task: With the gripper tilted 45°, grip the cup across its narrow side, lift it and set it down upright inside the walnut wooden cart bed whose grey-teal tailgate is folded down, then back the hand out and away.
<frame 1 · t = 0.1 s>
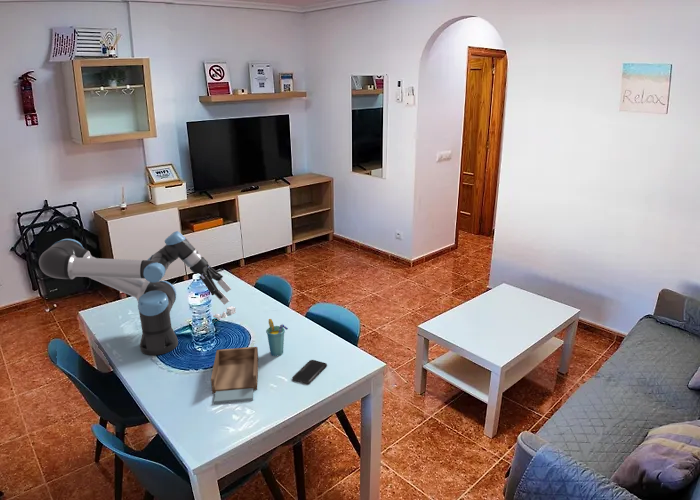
hand: (228, 296, 228), 15 cm above the table, tool tilted 35°, fingers open, 13 cm apart
phone: (309, 373, 198), on the table
tailgate: (234, 395, 182), point 1 cm above the table, hinge at 90.0°
cart bed: (236, 375, 196), on the table
cup: (278, 354, 211), on the table
game pieces: (224, 317, 244), on the table
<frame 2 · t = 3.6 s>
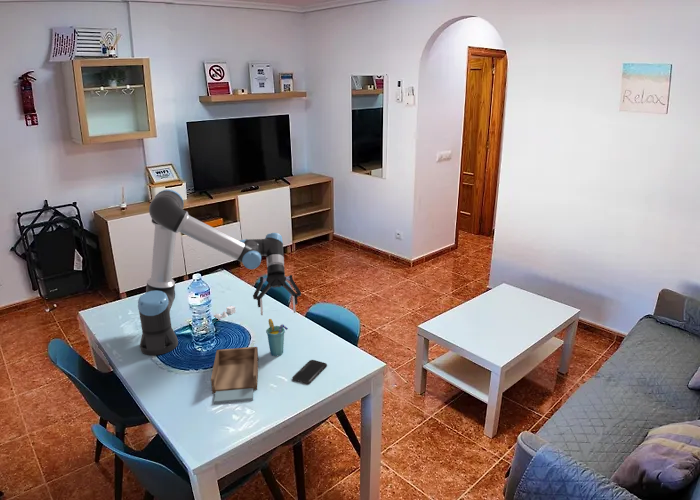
hand: (278, 313, 213), 15 cm above the table, tool tilted 45°, fingers open, 13 cm apart
nothing on the table moved.
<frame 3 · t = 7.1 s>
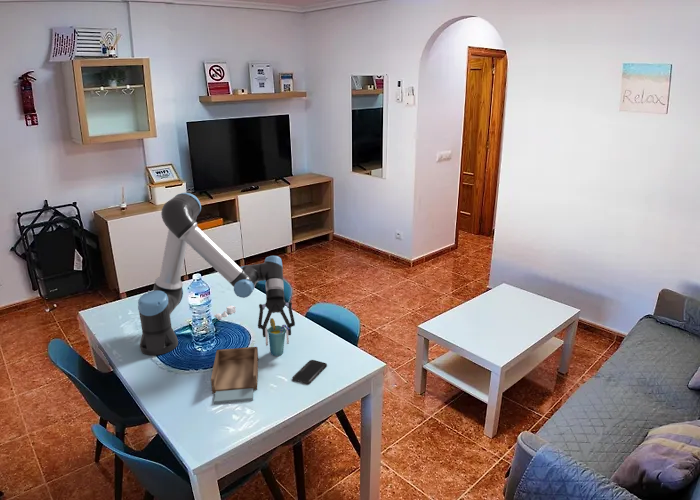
hand: (277, 343, 205), 7 cm above the table, tool tilted 45°, fingers closed on cup, 8 cm apart
cup: (278, 353, 211), on the table, touching gripper
everything else where it was.
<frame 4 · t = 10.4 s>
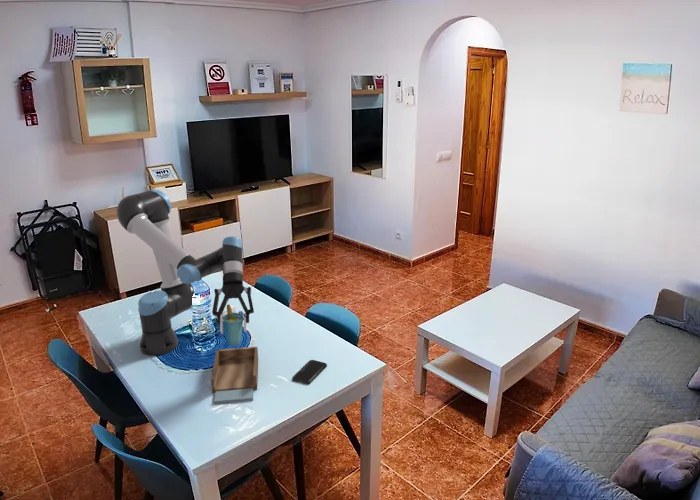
hand: (233, 332, 186), 20 cm above the table, tool tilted 45°, fingers closed on cup, 8 cm apart
cup: (235, 343, 192), point 14 cm above the table, touching gripper
everything else where it was.
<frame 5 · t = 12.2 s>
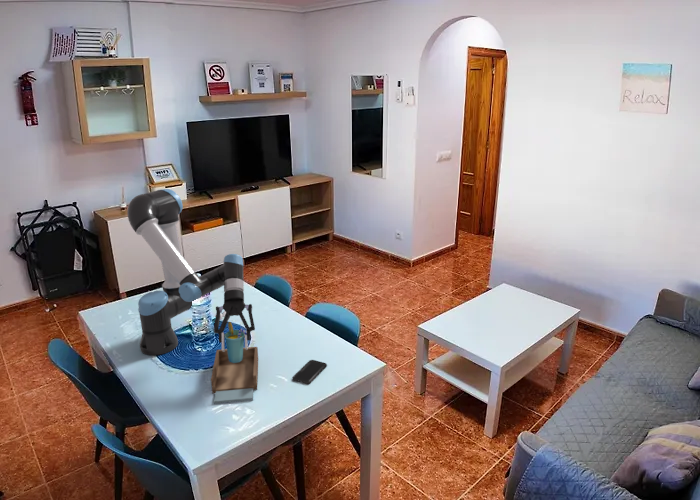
hand: (234, 349, 188), 13 cm above the table, tool tilted 45°, fingers closed on cup, 8 cm apart
cup: (236, 360, 193), point 7 cm above the table, touching gripper
when the fingers open (9 cm above the table, at t = 13.7 s): cup stays where it is, resting on cart bed.
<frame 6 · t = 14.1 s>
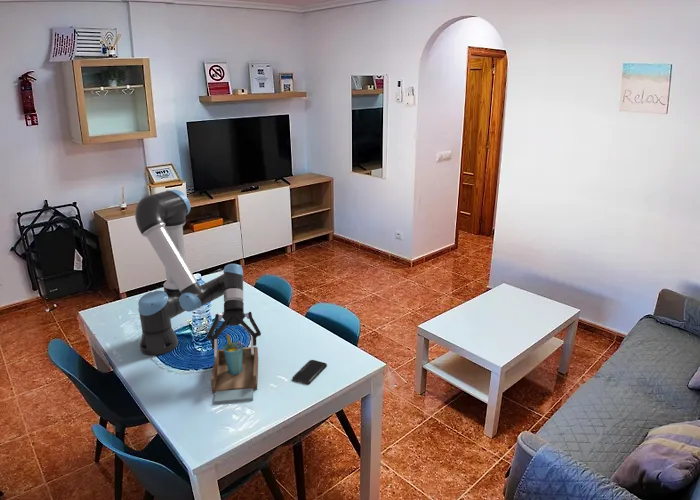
hand: (234, 355, 190), 10 cm above the table, tool tilted 45°, fingers open, 13 cm apart
cup: (236, 372, 195), point 1 cm above the table, touching cart bed
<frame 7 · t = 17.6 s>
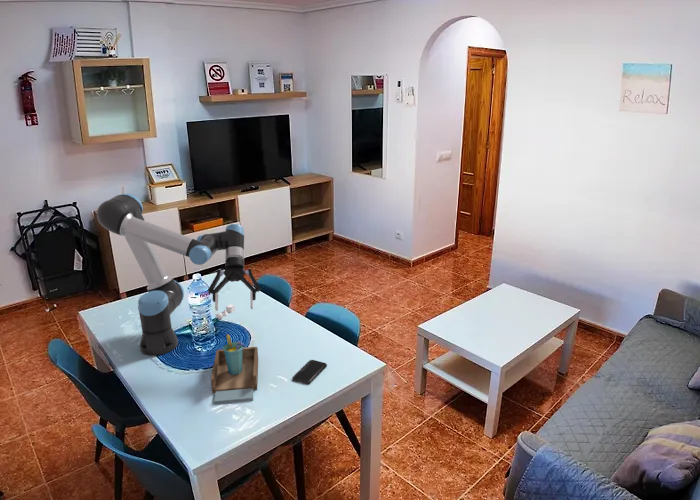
hand: (234, 308, 200), 22 cm above the table, tool tilted 45°, fingers open, 13 cm apart
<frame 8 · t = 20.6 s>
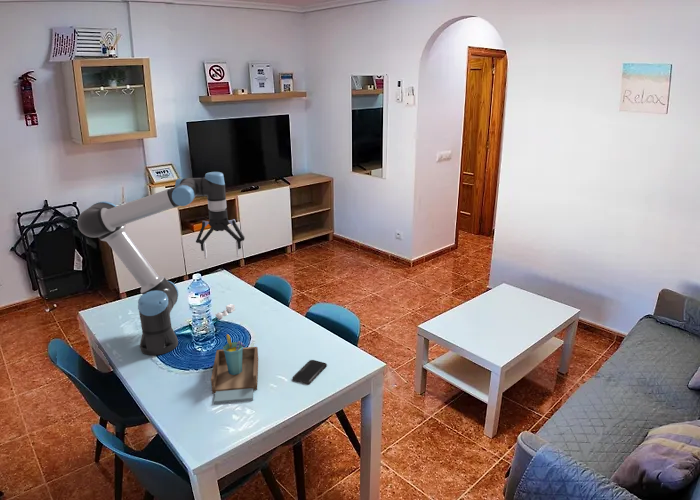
hand: (222, 256, 221), 35 cm above the table, tool pointing down, fingers open, 13 cm apart
at the end: cup inside the target area on the cart bed (0.1 cm from its centre), point 1.3 cm above the cart bed's base; cup tilted 0°; the gripper is holding nothing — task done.
